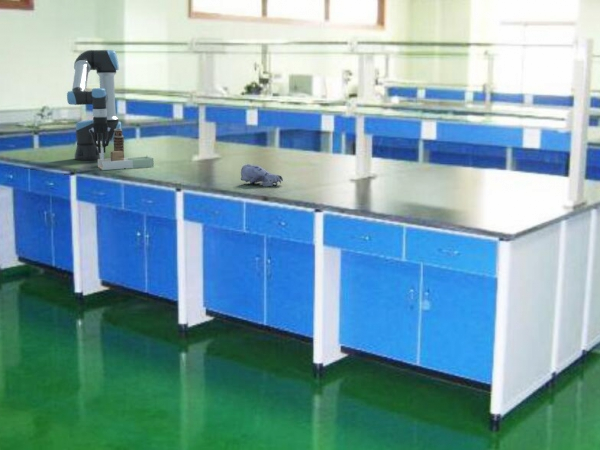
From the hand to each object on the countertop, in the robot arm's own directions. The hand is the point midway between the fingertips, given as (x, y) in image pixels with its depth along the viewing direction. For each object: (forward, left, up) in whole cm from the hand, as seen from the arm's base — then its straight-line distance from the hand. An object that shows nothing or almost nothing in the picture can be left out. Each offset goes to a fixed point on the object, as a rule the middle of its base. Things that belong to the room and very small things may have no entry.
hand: (102, 158), depth 474 cm
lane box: (0, +13, -6) cm, 14 cm away
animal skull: (+90, +59, -6) cm, 108 cm away
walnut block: (0, +9, -3) cm, 9 cm away
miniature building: (-19, +14, -6) cm, 24 cm away
